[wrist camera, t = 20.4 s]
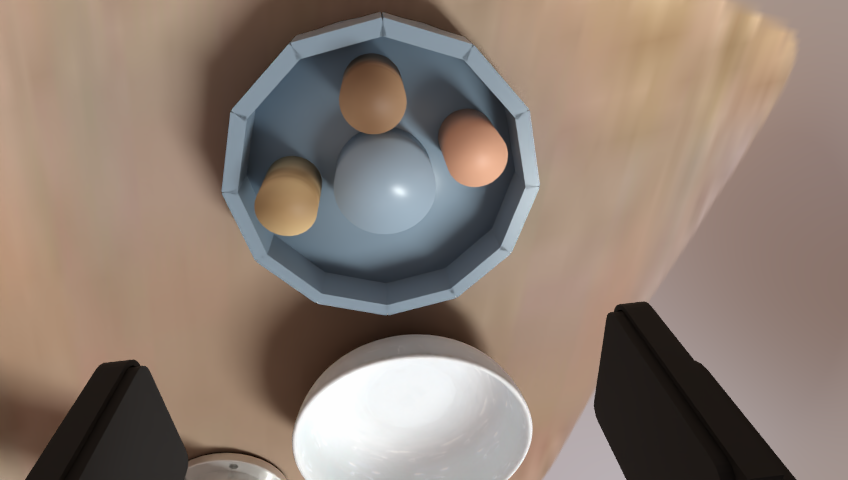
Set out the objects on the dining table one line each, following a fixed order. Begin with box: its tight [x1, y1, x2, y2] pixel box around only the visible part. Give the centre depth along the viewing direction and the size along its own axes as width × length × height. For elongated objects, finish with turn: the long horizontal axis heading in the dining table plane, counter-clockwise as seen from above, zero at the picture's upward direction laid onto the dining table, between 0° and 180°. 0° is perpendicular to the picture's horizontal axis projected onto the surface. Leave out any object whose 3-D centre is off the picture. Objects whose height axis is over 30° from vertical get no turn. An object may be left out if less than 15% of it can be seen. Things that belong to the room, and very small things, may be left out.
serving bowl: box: [292, 334, 532, 480], centre depth 47 cm, size 21×21×7 cm
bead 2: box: [339, 53, 407, 134], centre depth 32 cm, size 4×4×4 cm
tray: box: [222, 12, 540, 315], centre depth 37 cm, size 21×21×4 cm
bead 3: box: [438, 109, 508, 187], centre depth 35 cm, size 4×4×4 cm
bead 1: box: [254, 156, 322, 236], centre depth 35 cm, size 4×4×4 cm
